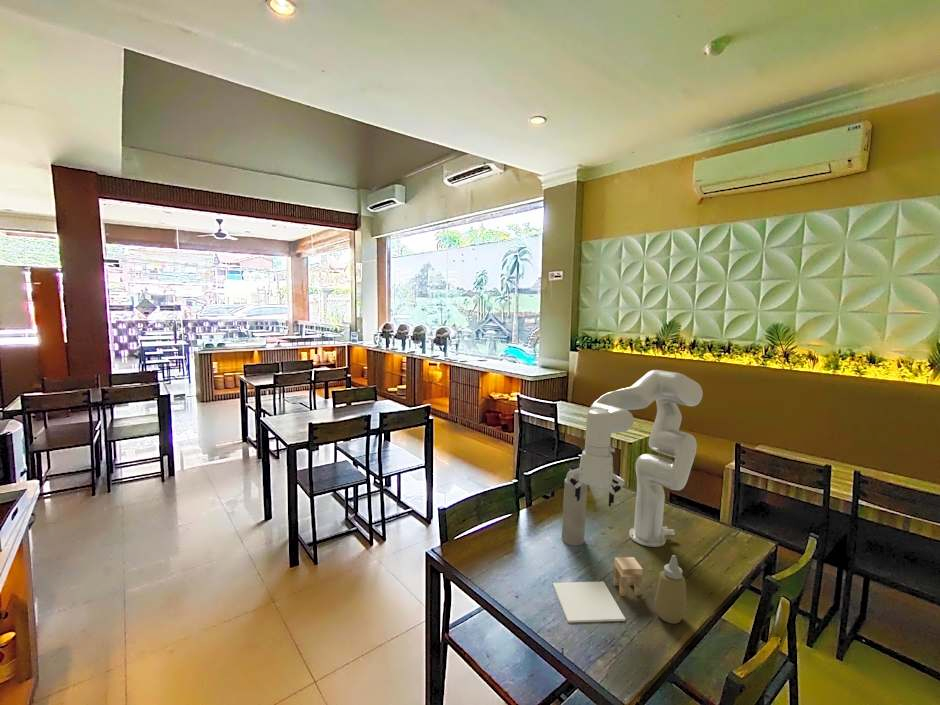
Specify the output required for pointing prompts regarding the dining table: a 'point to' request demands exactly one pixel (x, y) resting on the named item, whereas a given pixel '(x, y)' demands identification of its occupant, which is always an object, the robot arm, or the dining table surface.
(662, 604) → the squeeze bottle
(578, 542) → the thermos bottle
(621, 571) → the stool
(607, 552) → the dining table surface
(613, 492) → the robot arm
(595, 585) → the mat
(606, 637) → the dining table surface
